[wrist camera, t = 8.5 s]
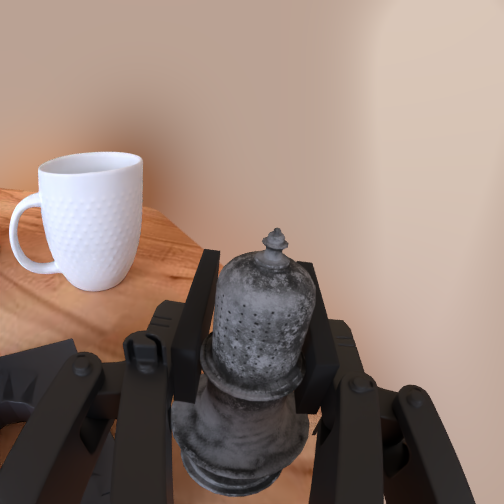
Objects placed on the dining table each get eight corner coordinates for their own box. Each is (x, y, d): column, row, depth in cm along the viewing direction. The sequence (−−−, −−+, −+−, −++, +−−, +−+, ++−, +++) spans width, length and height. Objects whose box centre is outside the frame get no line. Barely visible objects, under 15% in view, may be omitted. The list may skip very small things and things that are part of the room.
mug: (30, 327, 23) (-2, 190, 17) (19, 272, 30) (2, 166, 24) (161, 286, 33) (162, 164, 27) (123, 246, 39) (122, 148, 34)
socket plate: (-56, 392, 13) (-70, 371, 12) (79, 360, 21) (72, 337, 20) (-19, 579, 2) (-43, 572, 1) (176, 539, 11) (173, 532, 10)
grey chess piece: (225, 523, 10) (282, 341, 4) (152, 437, 13) (123, 207, 8) (313, 457, 13) (419, 251, 8) (240, 392, 17) (275, 187, 12)
